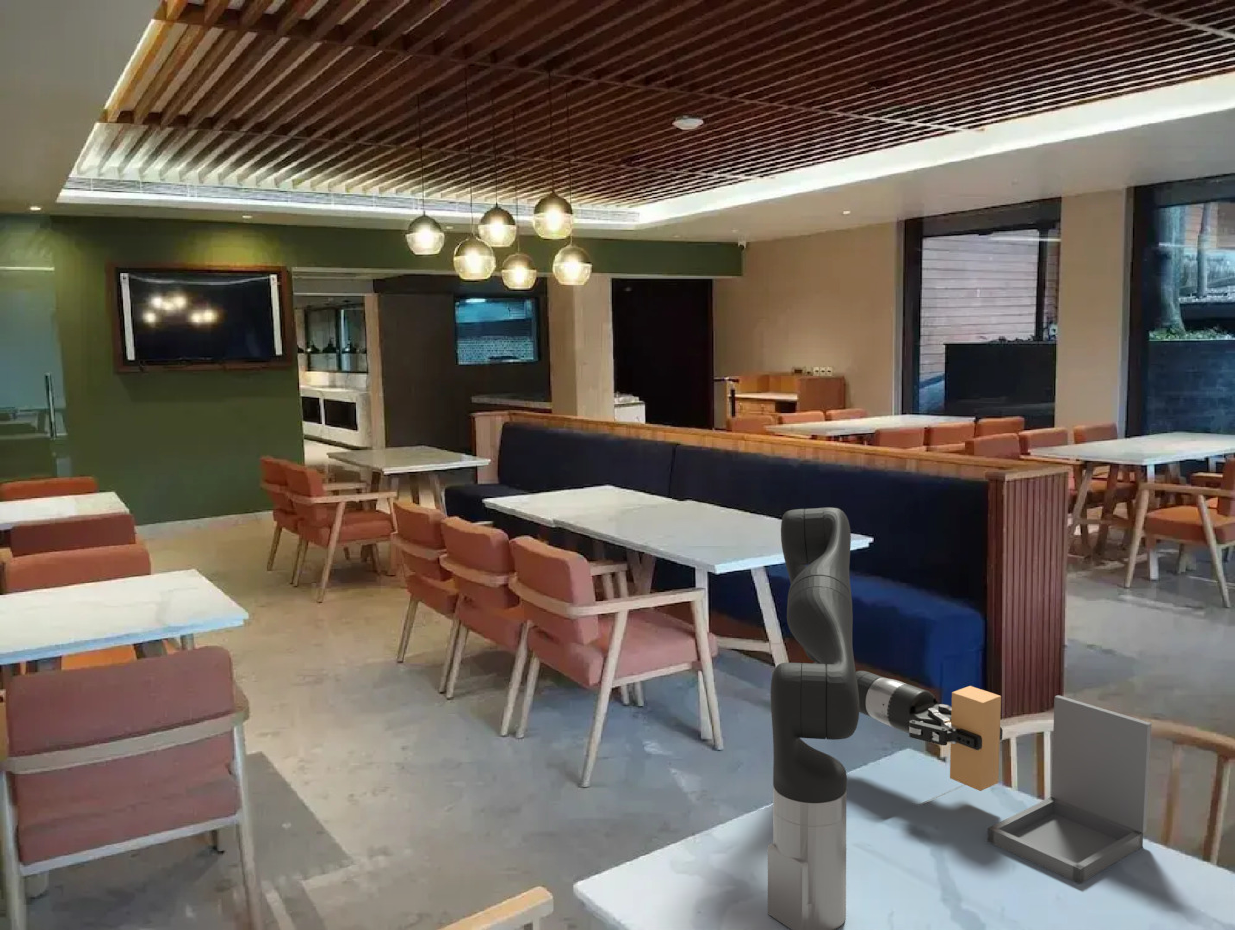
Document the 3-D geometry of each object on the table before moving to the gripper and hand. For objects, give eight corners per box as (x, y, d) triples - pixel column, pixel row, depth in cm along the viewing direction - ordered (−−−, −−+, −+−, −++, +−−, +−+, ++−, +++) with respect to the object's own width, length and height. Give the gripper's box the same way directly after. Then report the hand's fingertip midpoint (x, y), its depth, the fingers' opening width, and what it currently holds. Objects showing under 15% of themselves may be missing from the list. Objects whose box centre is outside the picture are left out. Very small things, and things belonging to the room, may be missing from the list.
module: (980, 791, 150) (982, 702, 148) (949, 778, 155) (951, 692, 153) (998, 782, 153) (1001, 695, 151) (967, 770, 157) (970, 685, 155)
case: (1079, 890, 132) (1084, 754, 129) (987, 847, 143) (990, 721, 141) (1145, 850, 141) (1151, 723, 139) (1054, 813, 153) (1058, 695, 150)
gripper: (871, 693, 160) (962, 727, 146) (928, 674, 168) (1019, 704, 154) (871, 738, 161) (961, 775, 147) (927, 716, 169) (1018, 750, 155)
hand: (990, 738), depth 151 cm, fingers closed on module, 4 cm apart
